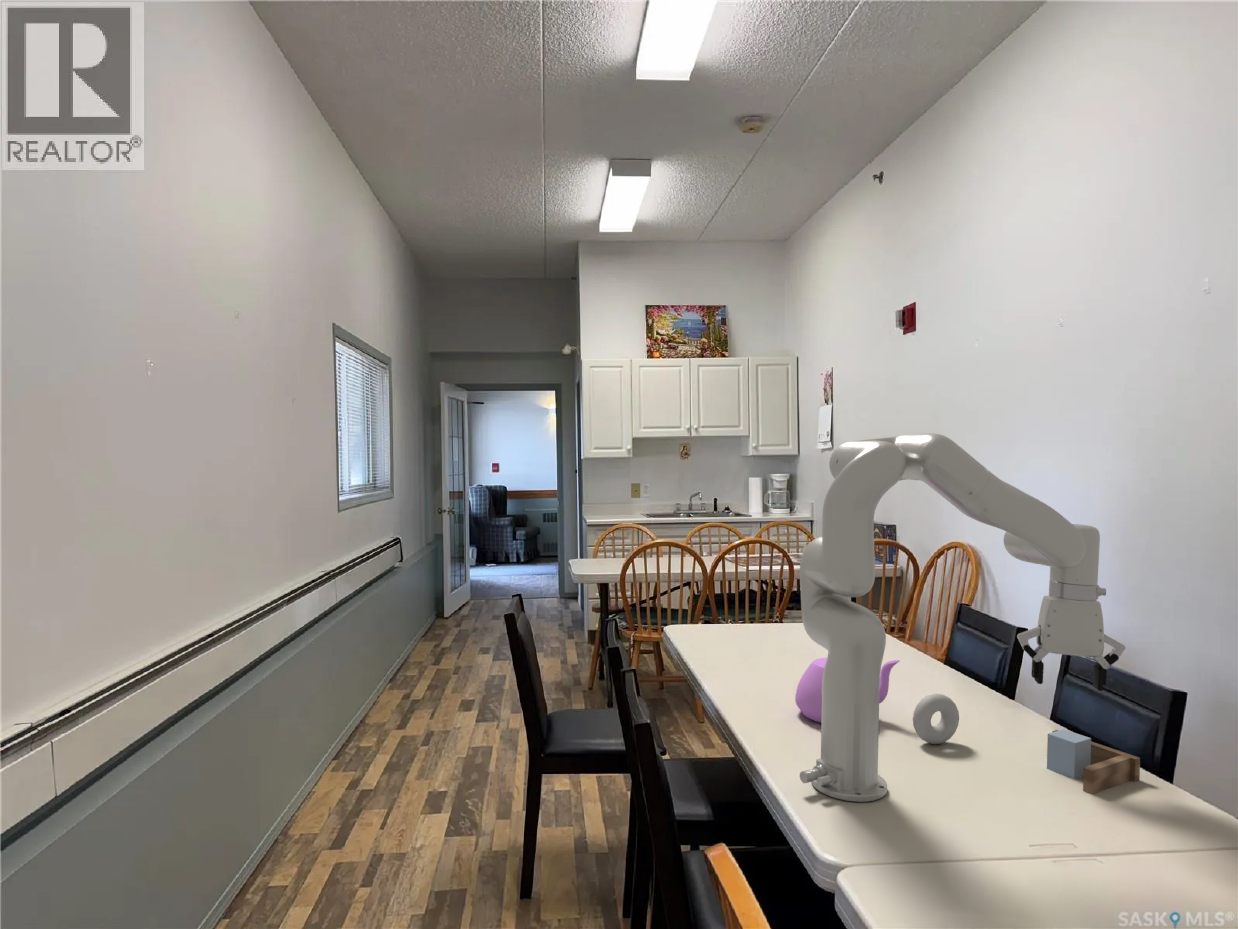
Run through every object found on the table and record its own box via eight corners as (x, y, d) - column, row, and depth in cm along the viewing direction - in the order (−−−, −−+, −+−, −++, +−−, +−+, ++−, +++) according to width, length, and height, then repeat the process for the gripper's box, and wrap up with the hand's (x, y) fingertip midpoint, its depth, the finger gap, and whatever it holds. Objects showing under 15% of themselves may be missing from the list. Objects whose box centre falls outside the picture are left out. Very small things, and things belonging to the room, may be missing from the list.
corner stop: (1096, 796, 129) (1097, 772, 129) (1013, 763, 142) (1014, 742, 142) (1139, 780, 136) (1140, 757, 136) (1056, 750, 149) (1056, 730, 149)
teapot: (907, 741, 153) (908, 672, 152) (796, 731, 157) (797, 665, 157) (890, 705, 174) (892, 645, 174) (793, 697, 178) (794, 639, 178)
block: (1074, 779, 136) (1075, 743, 136) (1046, 768, 140) (1047, 733, 140) (1090, 773, 138) (1091, 738, 138) (1062, 763, 143) (1063, 729, 142)
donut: (919, 749, 148) (920, 698, 148) (908, 742, 152) (909, 693, 151) (962, 744, 151) (963, 694, 151) (950, 738, 154) (951, 689, 154)
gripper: (1119, 593, 140) (1114, 685, 140) (1015, 584, 144) (1010, 674, 145) (1134, 600, 132) (1129, 697, 133) (1025, 591, 137) (1020, 685, 137)
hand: (1067, 685), depth 139 cm, fingers open, 9 cm apart
